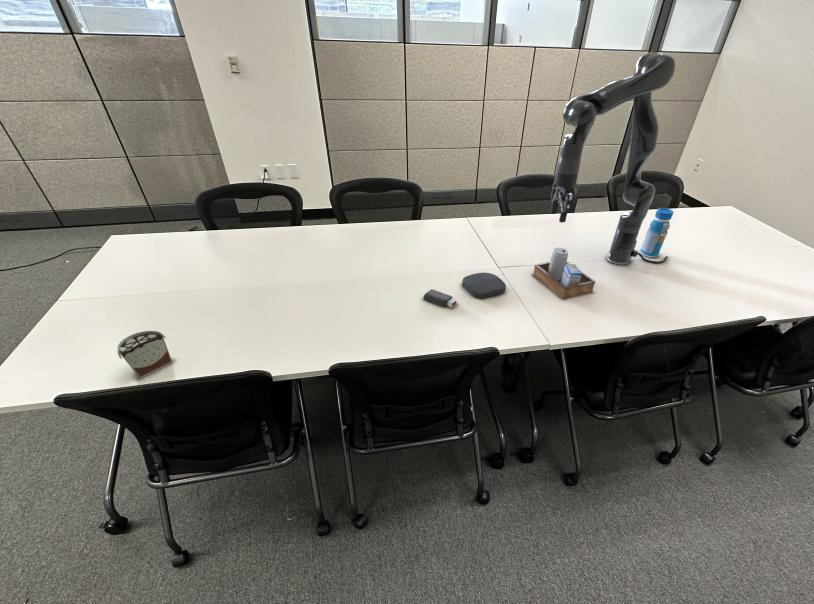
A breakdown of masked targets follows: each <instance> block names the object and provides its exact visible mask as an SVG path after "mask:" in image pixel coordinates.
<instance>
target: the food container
mask: <svg viewBox="0 0 814 604" xmlns="http://www.w3.org/2000/svg"><path fill="white" fill-rule="evenodd" d="M165 339H167V337H166V336H165V335H164V334H163V333H162V332H160V331H157V330H144V331H140V332H139V331H138V332H136V333H133V334H130V335H128V336H126V337H125V338H124V339H123V338H122V340H121V341H120V342H119V343H118V345H117V347H116V348H117V350H116V351H117V355H118V358H119V359H120V360H122V359H124V360H125V362H126V363H127V364H128V366H130V368H131V369H132V371H133V372H134V373H135V374H136V375H137V376H138V378H139V379H142V378H144V377H146V376H148V375H150V374H152V373H153V372H156V371H158V370H160V369H161V368H163V367H165V366H167V365H170V364H171V363H173V360H172V356H171V354H170V351H169V349H168V346H167V344H166V341H165Z"/></svg>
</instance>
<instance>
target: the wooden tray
mask: <svg viewBox="0 0 814 604" xmlns="http://www.w3.org/2000/svg"><path fill="white" fill-rule="evenodd" d="M566 264H571V263H570V262H569V261H567V262H566ZM549 265H550V261H547V262H541V263H536V264H534V265H533V266H534V267H533V273H532V276H533V277H534V278H535V279H537V280H539V282H541V284H543V285H544V286H546V287H547V288H548V289H549V290H551V291H552V292H553V293H554V294H556V295H557V296H558V297H559V298H561V299H562V300H564V299H568V298H572V297H576V296H581V295H586V294H589V293H590V294H591V293H593V290H594V288H595V284H596V282H597V281H596V280H595V279H594V278H592V277H590V276H589V275H588V274H586V273H584V272H583V271H582V270H580V269H579V271H580V272H581V278H580V282H579V284H576V285H571V286H567V287H565V286H564V285H563V284H561V281H560V280H558V281H557V280H556V279H555V278H554V277H552V276H551V275H550V274H548V270H549Z"/></svg>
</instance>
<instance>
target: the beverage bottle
mask: <svg viewBox="0 0 814 604" xmlns="http://www.w3.org/2000/svg"><path fill="white" fill-rule="evenodd" d="M656 209H657V210H656V211H655V214H654V217H655V218H654V219H652V220H651V222H650V223H649V227H648V228H647V230H646V234H645V237H644V240H643V241H642V245H641V248H640V251H639V253H640V254H641V255H642V256H643V257H644V256H645V257H647V258H656V257H658V256H659V255H660V251H661V249H662V247H663V245H664V242H665V240H666V237H667V236H668V233H669V232H668V230H669V229H670V227H671V225H670V221H671V220H672V218H673V215H674V210H672V209H671V208H667V207H658V208H656Z"/></svg>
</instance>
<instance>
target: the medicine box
mask: <svg viewBox="0 0 814 604" xmlns="http://www.w3.org/2000/svg"><path fill="white" fill-rule="evenodd" d="M579 270H580V268H578V266H577V265H576V264H575V263H570V264H565V267H564V271H563V275H562V279H560V283H561V284H563V285H564V286H565V287H567V286H571V285H576V284H579V282H580V278H581V272H582V271H581V270H580V271H581V272H580V271H579Z"/></svg>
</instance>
